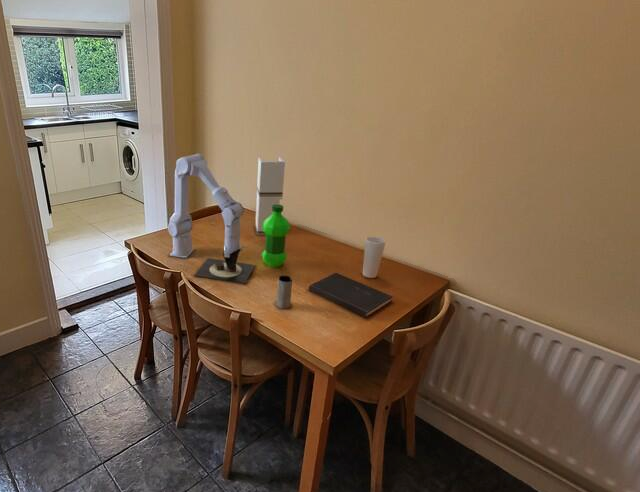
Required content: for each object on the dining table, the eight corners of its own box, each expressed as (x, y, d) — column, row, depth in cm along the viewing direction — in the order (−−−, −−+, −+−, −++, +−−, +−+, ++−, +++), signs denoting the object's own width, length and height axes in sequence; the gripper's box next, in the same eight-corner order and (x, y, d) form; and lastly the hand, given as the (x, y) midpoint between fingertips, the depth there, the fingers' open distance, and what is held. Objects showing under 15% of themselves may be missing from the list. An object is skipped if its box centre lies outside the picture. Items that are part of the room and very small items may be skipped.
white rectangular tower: (279, 235, 196) (284, 162, 182) (257, 235, 197) (260, 162, 182) (276, 226, 207) (281, 156, 192) (255, 226, 207) (258, 156, 192)
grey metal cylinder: (275, 301, 142) (277, 275, 137) (288, 301, 142) (290, 275, 137) (278, 309, 137) (280, 282, 133) (291, 308, 138) (294, 281, 133)
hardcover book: (335, 277, 157) (335, 272, 156) (391, 302, 141) (392, 296, 140) (308, 291, 148) (308, 285, 147) (365, 318, 132) (366, 312, 131)
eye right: (228, 267, 164) (228, 262, 163) (237, 268, 163) (237, 264, 162) (226, 271, 161) (226, 266, 160) (234, 272, 160) (235, 267, 159)
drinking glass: (378, 272, 161) (385, 237, 154) (378, 280, 155) (385, 244, 148) (360, 270, 163) (366, 235, 156) (360, 278, 157) (366, 242, 150)
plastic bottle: (288, 261, 170) (293, 203, 160) (282, 272, 162) (286, 211, 151) (265, 257, 174) (269, 200, 164) (257, 267, 166) (260, 208, 155)
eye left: (216, 266, 165) (216, 261, 164) (225, 267, 164) (225, 262, 163) (213, 269, 162) (213, 265, 161) (222, 271, 161) (222, 266, 160)
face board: (208, 259, 173) (208, 257, 172) (254, 266, 167) (254, 264, 166) (194, 276, 159) (194, 274, 159) (244, 284, 153) (245, 282, 153)
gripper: (237, 243, 148) (236, 276, 154) (247, 229, 160) (246, 260, 166) (218, 240, 150) (218, 273, 156) (229, 227, 162) (229, 258, 168)
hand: (231, 266), depth 161 cm, fingers closed on eye right, 3 cm apart
